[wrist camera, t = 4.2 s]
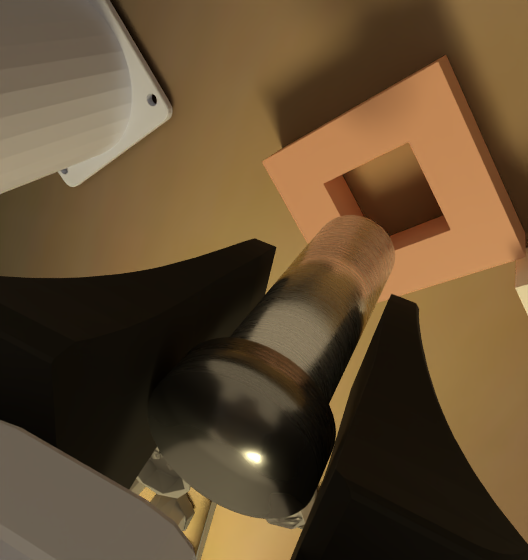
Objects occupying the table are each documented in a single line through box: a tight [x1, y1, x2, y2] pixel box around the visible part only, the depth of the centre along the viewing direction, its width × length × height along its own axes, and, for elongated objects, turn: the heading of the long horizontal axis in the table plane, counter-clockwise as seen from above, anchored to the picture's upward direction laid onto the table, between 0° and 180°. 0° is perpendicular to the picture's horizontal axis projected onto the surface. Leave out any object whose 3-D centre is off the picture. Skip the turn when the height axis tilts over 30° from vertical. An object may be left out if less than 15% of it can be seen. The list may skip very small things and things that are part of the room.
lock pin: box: [148, 215, 395, 519], centre depth 12 cm, size 3×3×8 cm
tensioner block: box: [262, 55, 526, 303], centre depth 19 cm, size 7×7×2 cm
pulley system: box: [129, 447, 318, 560], centre depth 33 cm, size 27×5×15 cm
